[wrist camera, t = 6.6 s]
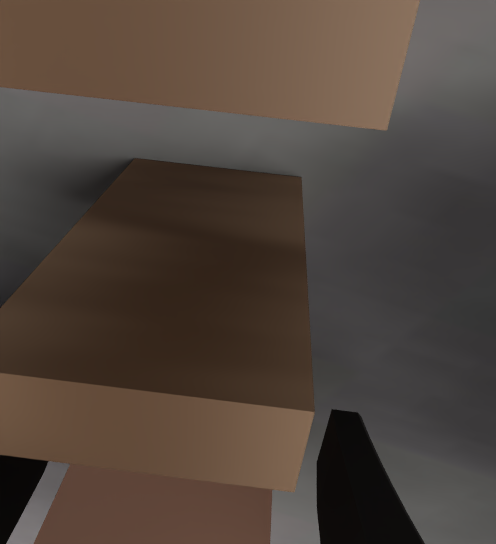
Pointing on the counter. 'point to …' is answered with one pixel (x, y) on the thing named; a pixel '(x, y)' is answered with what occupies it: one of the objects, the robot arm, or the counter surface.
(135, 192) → the domino
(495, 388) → the counter surface
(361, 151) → the counter surface
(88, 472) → the domino
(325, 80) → the domino
